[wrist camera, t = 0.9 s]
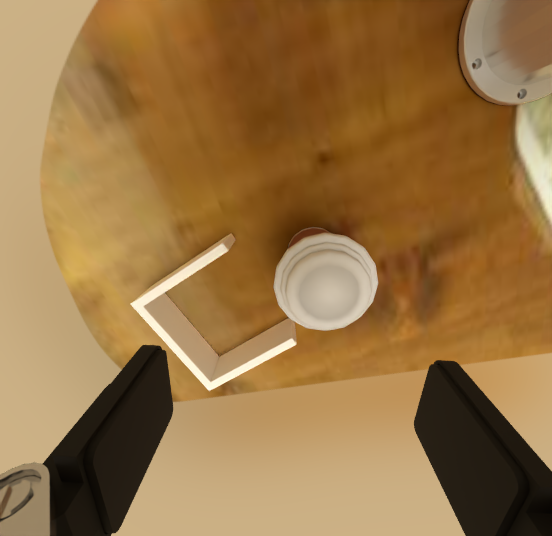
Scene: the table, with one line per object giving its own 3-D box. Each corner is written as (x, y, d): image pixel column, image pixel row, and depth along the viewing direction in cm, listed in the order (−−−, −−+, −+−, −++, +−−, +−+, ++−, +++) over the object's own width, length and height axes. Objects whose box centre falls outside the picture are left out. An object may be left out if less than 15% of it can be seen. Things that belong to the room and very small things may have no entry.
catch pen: (231, 232, 33) (222, 242, 28) (294, 322, 37) (296, 344, 32) (150, 286, 36) (130, 304, 31) (217, 364, 39) (209, 391, 35)
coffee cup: (332, 296, 35) (356, 354, 24) (266, 273, 35) (258, 323, 23) (363, 230, 33) (406, 261, 21) (291, 204, 32) (296, 222, 20)
